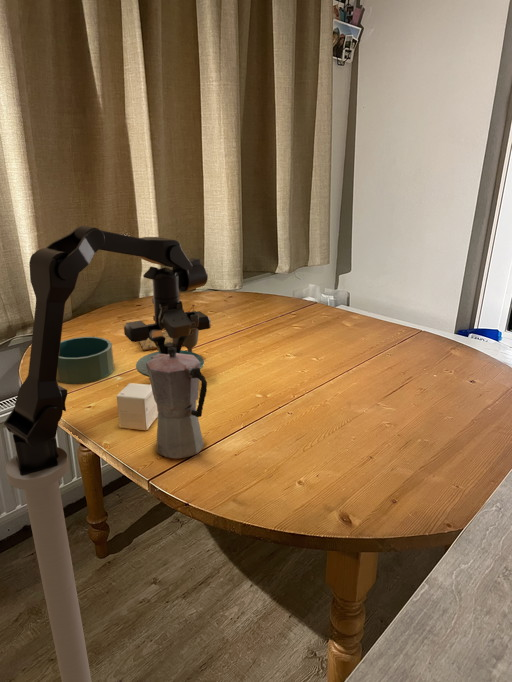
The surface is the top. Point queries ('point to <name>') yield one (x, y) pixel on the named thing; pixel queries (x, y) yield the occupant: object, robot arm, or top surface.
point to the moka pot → (177, 402)
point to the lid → (142, 361)
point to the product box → (136, 406)
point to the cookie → (151, 345)
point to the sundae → (191, 338)
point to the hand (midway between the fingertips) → (170, 360)
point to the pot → (84, 360)
